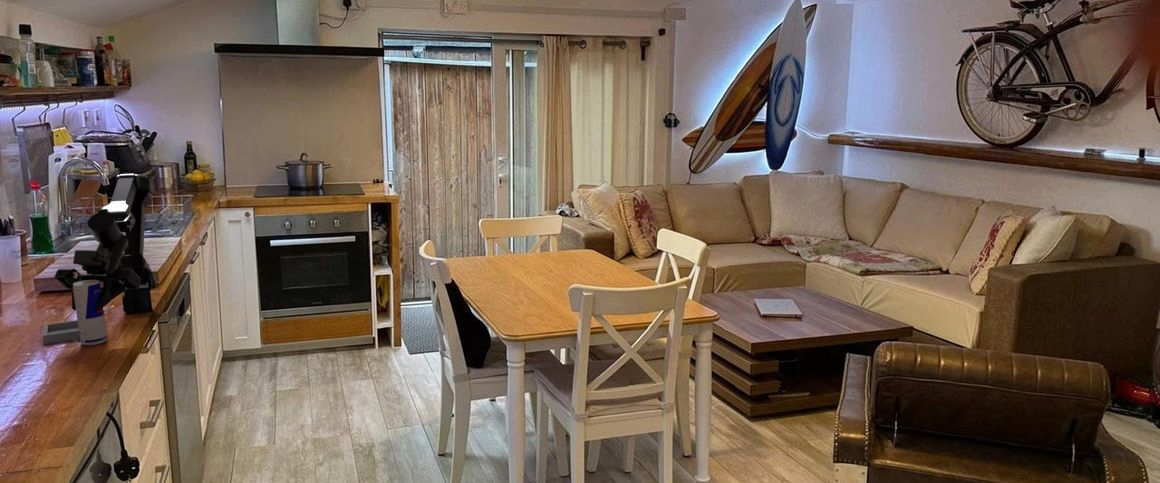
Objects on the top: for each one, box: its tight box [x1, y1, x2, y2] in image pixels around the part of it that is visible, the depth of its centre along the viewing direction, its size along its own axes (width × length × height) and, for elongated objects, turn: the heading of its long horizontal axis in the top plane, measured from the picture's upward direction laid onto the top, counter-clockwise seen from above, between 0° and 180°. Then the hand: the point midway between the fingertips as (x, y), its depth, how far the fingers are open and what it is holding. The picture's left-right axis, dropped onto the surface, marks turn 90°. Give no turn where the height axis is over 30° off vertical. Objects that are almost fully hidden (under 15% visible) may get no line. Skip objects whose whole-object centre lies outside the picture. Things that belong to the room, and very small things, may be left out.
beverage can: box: [73, 280, 108, 347], centre depth 200 cm, size 6×6×15 cm
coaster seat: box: [42, 319, 80, 345], centre depth 208 cm, size 11×11×2 cm
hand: (85, 309), depth 199 cm, fingers closed on beverage can, 5 cm apart
